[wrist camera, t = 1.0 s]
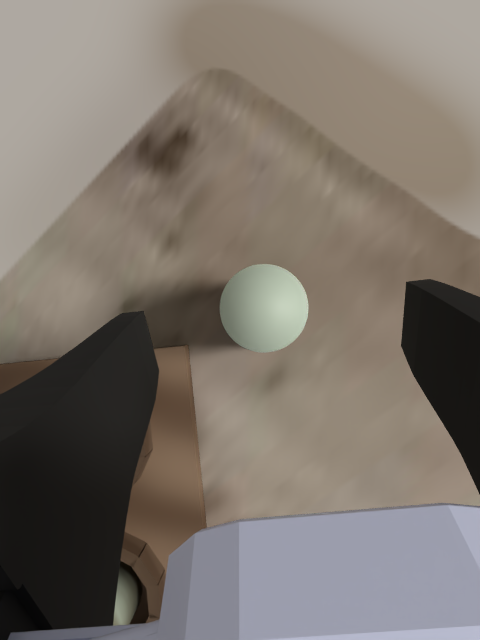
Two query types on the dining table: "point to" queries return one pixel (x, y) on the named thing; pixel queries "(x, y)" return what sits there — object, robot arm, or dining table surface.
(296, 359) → the dining table surface
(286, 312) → the loose peg
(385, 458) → the dining table surface
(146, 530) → the peg stand
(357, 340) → the dining table surface
